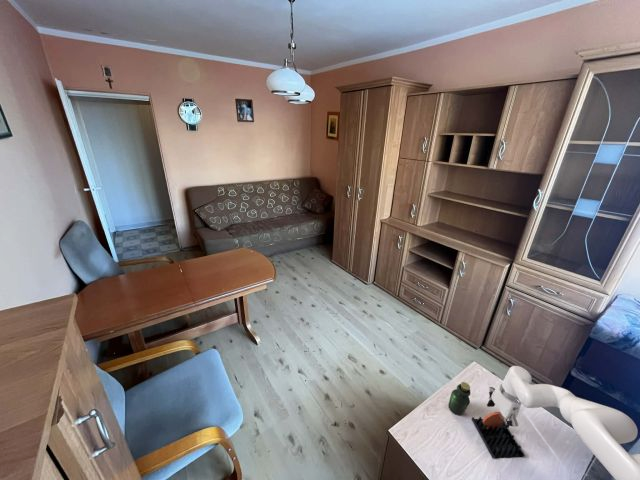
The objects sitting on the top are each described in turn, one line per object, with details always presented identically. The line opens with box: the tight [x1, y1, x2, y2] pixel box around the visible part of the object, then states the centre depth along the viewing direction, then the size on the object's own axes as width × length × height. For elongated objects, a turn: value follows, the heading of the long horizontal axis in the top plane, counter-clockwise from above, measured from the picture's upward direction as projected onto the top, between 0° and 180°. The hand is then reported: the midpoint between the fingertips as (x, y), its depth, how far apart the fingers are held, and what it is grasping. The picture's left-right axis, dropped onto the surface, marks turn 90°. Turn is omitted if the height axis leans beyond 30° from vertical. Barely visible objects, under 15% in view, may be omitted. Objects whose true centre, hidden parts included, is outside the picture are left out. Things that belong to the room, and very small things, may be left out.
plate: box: [482, 411, 509, 429], centre depth 120 cm, size 1×11×12 cm, turn 93°
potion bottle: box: [447, 381, 471, 417], centre depth 126 cm, size 8×8×18 cm
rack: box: [471, 416, 526, 460], centre depth 118 cm, size 16×14×5 cm
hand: (496, 416), depth 118 cm, fingers open, 8 cm apart
